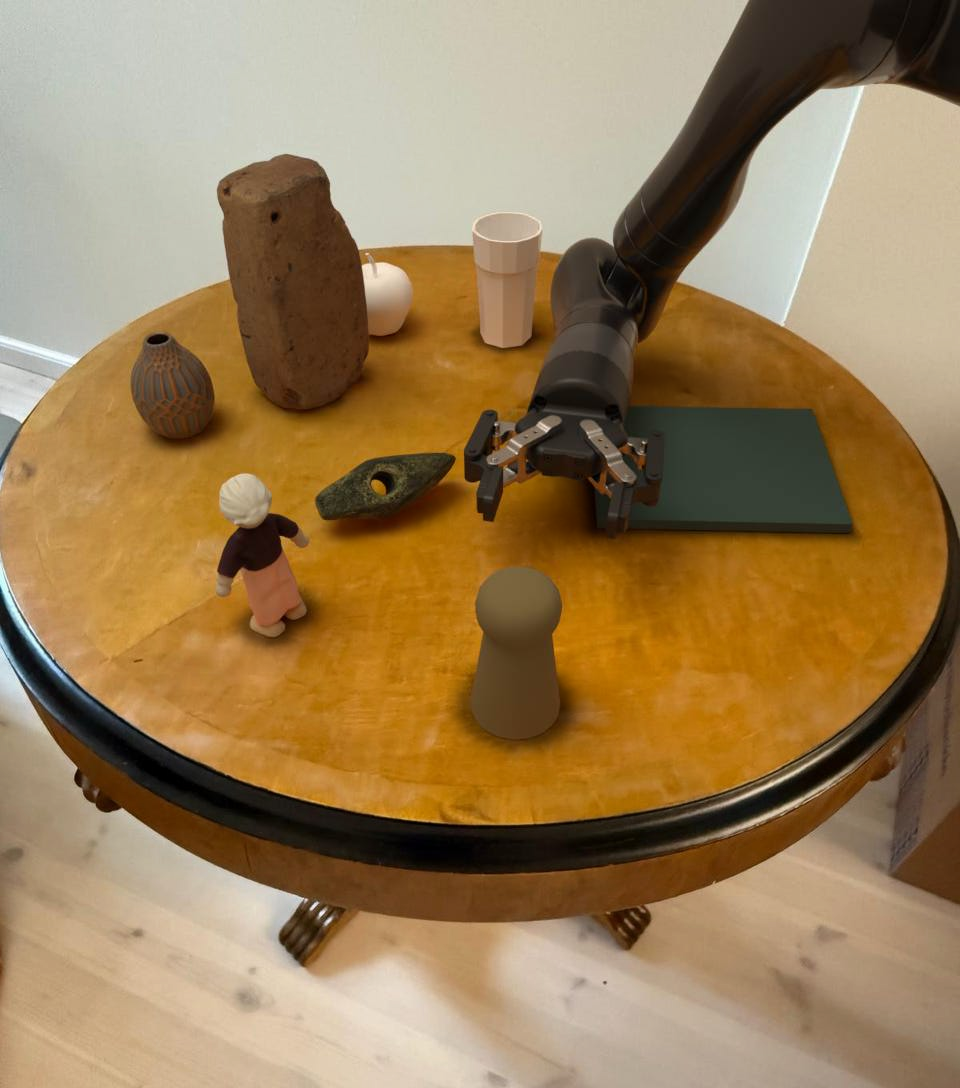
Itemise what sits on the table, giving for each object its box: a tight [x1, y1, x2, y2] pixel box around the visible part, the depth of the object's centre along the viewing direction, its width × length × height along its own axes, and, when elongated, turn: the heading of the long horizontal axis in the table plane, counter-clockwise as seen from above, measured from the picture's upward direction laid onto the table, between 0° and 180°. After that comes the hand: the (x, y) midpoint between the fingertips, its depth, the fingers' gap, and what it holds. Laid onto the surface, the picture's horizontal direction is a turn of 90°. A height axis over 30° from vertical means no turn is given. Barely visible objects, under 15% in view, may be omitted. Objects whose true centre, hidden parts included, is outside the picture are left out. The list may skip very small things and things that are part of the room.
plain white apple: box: [362, 252, 414, 337], centre depth 93 cm, size 7×7×8 cm
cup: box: [471, 211, 543, 349], centre depth 91 cm, size 7×7×11 cm
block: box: [216, 153, 370, 410], centre depth 81 cm, size 11×8×20 cm
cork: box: [470, 565, 563, 741], centre depth 58 cm, size 6×6×11 cm
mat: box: [593, 405, 853, 534], centre depth 79 cm, size 20×16×1 cm
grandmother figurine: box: [214, 473, 310, 638], centre depth 63 cm, size 8×4×13 cm, turn 150°
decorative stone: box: [314, 452, 457, 521], centre depth 74 cm, size 11×8×5 cm
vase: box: [130, 331, 216, 440], centre depth 81 cm, size 7×7×9 cm
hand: (549, 520), depth 63 cm, fingers open, 8 cm apart
